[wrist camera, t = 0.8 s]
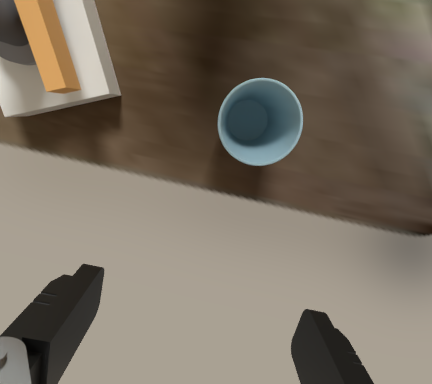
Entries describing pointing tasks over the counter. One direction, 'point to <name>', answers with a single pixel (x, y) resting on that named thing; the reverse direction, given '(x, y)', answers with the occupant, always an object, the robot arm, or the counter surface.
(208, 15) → the counter surface
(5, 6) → the plug
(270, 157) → the cup
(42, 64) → the tan piece
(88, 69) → the socket block
